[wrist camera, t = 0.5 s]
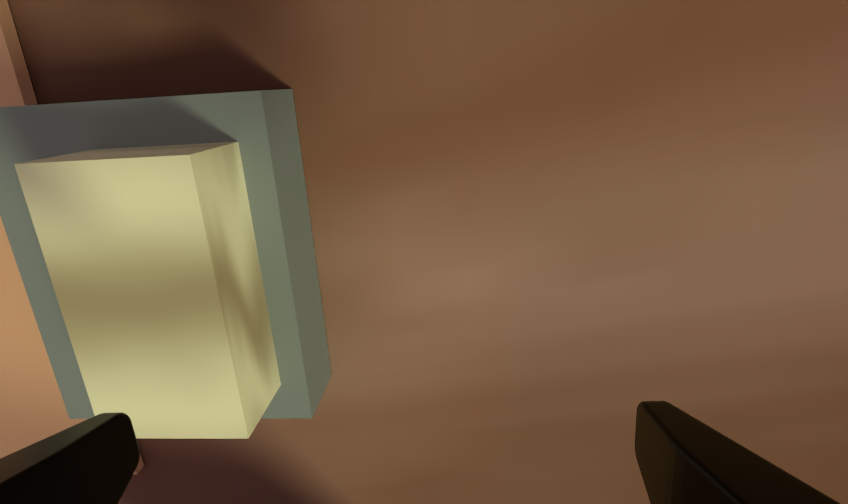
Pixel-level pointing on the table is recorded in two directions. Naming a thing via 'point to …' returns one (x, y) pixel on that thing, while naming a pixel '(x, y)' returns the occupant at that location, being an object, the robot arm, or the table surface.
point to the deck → (268, 199)
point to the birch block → (159, 284)
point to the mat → (22, 303)
